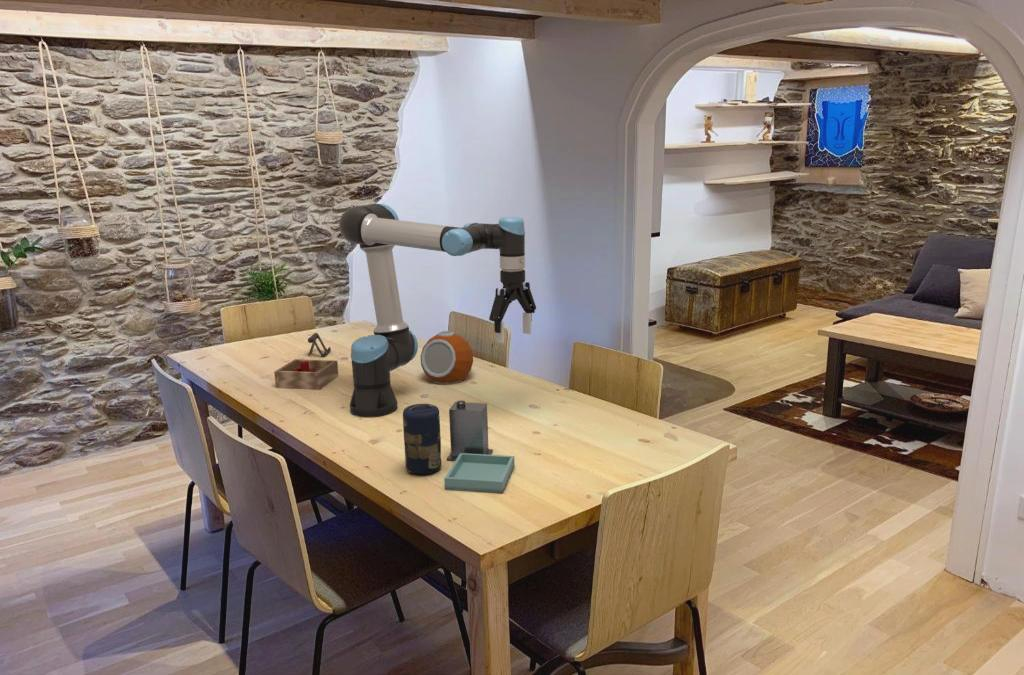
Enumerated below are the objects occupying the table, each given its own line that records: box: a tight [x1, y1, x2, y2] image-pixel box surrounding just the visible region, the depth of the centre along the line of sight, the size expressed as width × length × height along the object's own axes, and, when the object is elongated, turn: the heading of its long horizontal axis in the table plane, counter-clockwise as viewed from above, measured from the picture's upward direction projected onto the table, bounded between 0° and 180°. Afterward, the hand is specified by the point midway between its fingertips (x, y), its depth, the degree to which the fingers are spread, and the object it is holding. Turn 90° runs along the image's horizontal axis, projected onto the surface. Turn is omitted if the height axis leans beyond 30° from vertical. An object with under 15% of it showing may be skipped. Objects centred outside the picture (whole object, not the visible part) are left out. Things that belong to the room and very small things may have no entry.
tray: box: [443, 453, 515, 494], centre depth 189 cm, size 15×16×3 cm
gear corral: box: [274, 358, 340, 390], centre depth 271 cm, size 17×16×6 cm
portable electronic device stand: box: [307, 332, 332, 358], centre depth 306 cm, size 9×8×8 cm
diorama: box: [292, 359, 316, 372], centre depth 271 cm, size 11×12×8 cm
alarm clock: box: [420, 330, 474, 385], centre depth 269 cm, size 19×18×17 cm
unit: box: [446, 400, 494, 462], centre depth 201 cm, size 11×8×16 cm
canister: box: [402, 403, 442, 475], centre depth 193 cm, size 10×10×18 cm
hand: (513, 338), depth 229 cm, fingers open, 13 cm apart
